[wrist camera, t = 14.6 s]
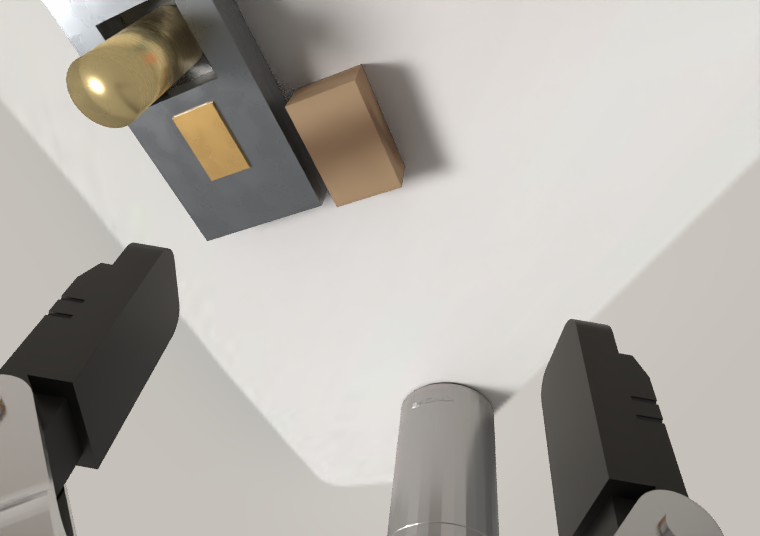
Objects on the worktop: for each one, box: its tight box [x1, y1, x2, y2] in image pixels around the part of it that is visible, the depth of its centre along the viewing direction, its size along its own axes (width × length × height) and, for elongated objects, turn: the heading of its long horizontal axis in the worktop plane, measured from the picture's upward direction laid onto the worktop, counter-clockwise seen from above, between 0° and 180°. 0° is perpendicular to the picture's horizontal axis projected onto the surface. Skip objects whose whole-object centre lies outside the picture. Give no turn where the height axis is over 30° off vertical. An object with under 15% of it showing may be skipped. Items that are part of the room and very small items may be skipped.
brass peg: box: [66, 5, 203, 128], centre depth 36 cm, size 4×4×10 cm
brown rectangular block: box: [285, 65, 405, 207], centre depth 41 cm, size 8×5×3 cm, turn 23°
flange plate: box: [42, 0, 328, 241], centre depth 41 cm, size 19×10×3 cm, turn 23°
